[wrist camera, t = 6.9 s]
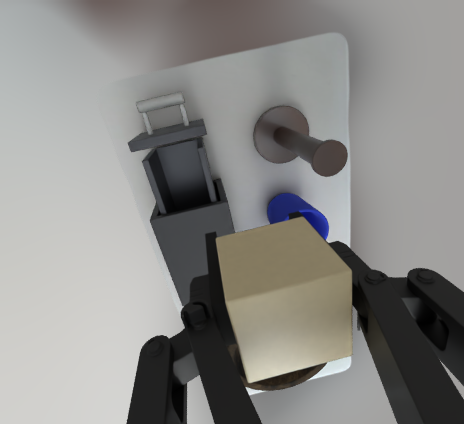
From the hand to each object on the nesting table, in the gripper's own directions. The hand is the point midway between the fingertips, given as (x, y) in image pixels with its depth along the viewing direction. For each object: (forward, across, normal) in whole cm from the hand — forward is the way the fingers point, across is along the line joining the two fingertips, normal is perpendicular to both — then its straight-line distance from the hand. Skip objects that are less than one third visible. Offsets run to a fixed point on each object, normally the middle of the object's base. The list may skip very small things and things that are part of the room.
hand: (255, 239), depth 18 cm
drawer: (+27, -6, +1) cm, 28 cm away
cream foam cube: (-3, 0, 0) cm, 3 cm away
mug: (+29, +10, -14) cm, 33 cm away
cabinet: (+28, -6, -12) cm, 31 cm away
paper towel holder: (+28, +11, +1) cm, 30 cm away
